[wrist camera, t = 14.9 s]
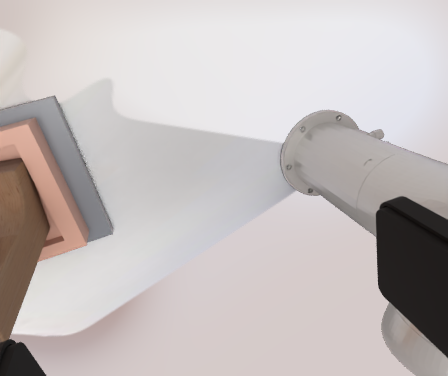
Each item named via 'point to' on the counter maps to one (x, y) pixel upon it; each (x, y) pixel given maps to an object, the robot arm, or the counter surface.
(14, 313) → the wooden block
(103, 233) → the baseplate
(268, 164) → the counter surface
